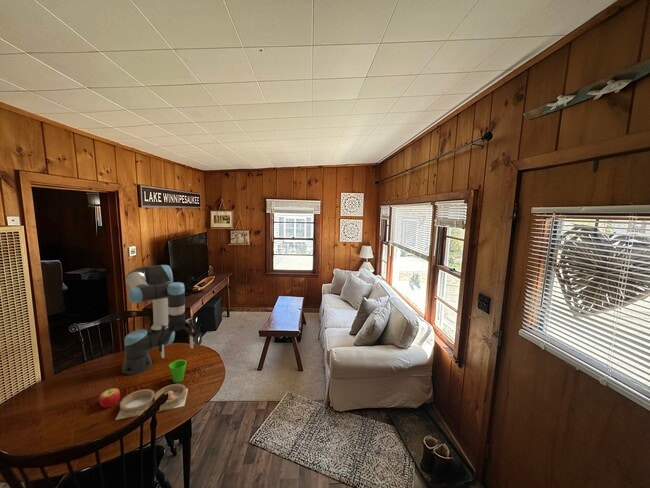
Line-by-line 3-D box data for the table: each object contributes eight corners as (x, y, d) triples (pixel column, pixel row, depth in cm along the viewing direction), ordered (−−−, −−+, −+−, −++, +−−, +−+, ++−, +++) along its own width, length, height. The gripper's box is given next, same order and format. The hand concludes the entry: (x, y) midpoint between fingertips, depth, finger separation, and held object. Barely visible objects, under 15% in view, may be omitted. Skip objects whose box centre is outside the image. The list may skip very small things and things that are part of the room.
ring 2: (152, 398, 136) (152, 391, 136) (181, 387, 146) (181, 380, 145) (157, 414, 126) (157, 406, 125) (189, 400, 135) (188, 393, 135)
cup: (179, 387, 147) (178, 369, 146) (165, 385, 149) (165, 367, 147) (190, 378, 156) (190, 361, 154) (177, 375, 157) (177, 358, 156)
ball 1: (165, 397, 137) (165, 391, 137) (172, 394, 140) (172, 388, 139) (166, 400, 135) (166, 394, 134) (174, 397, 137) (174, 391, 137)
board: (115, 422, 122) (115, 419, 121) (125, 401, 135) (125, 399, 134) (184, 408, 132) (184, 405, 132) (188, 390, 145) (188, 388, 145)
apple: (119, 397, 138) (118, 379, 137) (121, 405, 132) (120, 387, 131) (99, 404, 132) (97, 386, 131) (100, 414, 126) (99, 395, 125)
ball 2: (167, 401, 134) (166, 395, 134) (174, 398, 137) (174, 392, 136) (168, 405, 132) (168, 399, 131) (176, 402, 134) (176, 396, 134)
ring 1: (119, 404, 131) (118, 397, 130) (151, 392, 140) (151, 385, 140) (122, 421, 121) (121, 413, 120) (157, 407, 130) (156, 399, 130)
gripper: (149, 321, 120) (151, 364, 123) (204, 309, 138) (205, 346, 140) (145, 317, 125) (147, 357, 128) (199, 305, 143) (199, 341, 146)
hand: (177, 352), depth 134 cm, fingers open, 13 cm apart
